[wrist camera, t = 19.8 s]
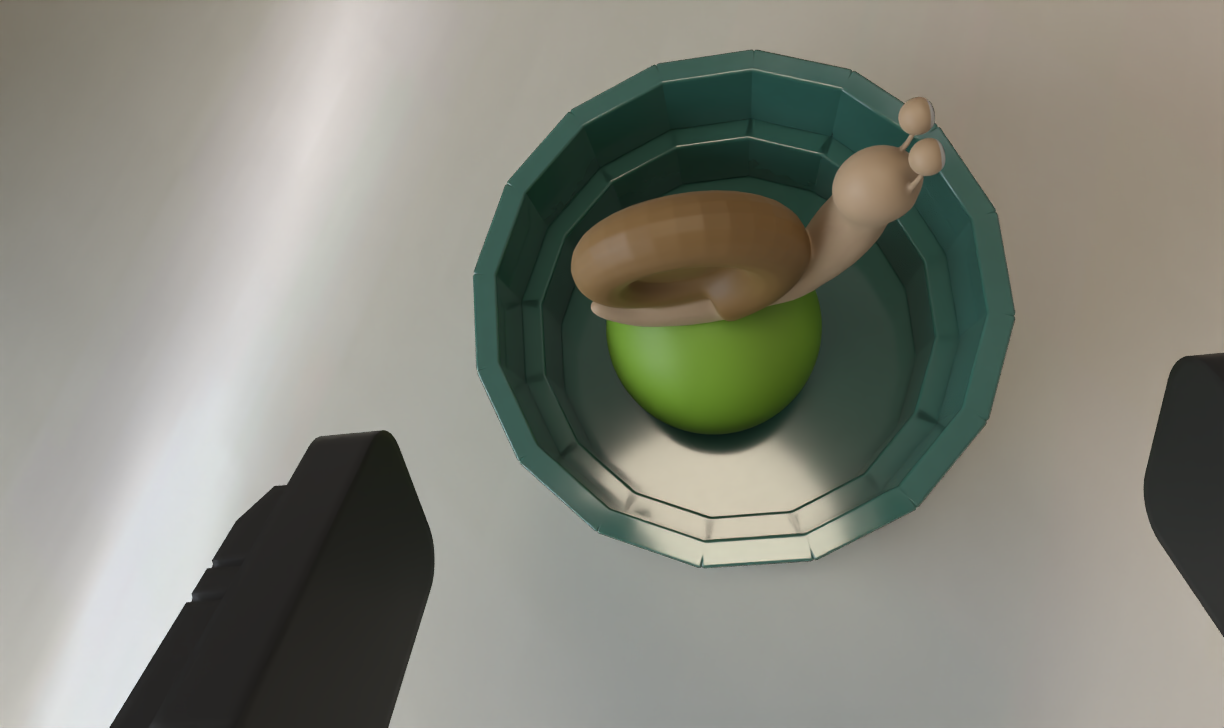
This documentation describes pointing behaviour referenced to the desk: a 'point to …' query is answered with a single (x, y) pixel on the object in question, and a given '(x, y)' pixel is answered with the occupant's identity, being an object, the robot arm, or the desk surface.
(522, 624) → the desk surface
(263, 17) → the desk surface
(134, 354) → the desk surface
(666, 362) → the snail figurine
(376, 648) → the robot arm
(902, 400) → the bowl
